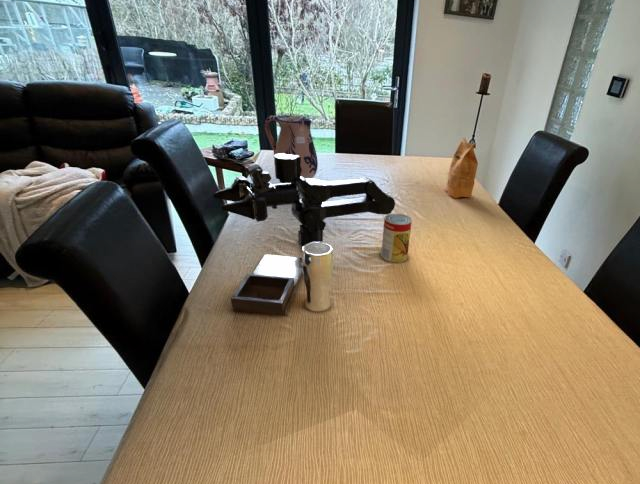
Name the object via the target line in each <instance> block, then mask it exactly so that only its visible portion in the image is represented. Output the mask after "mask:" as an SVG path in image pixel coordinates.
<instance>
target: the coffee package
mask: <svg viewBox="0 0 640 484" xmlns="http://www.w3.org/2000/svg"><path fill="white" fill-rule="evenodd" d="M476 148H477V145H475V143H470V142H467V140H466V138H463V137H462V139H461V141H460V143H459V144H458V146H457V147H456V150H455V152H454V154H453V156H452V159H451V163H450V166H449V168H448V169H449V170H448V172H447V181H446V187H445V192H447V194H448V196H450V197H452V198H453V199H458V198H469V197H472V195H473V190H474V186H475V183H476V181H475V180H476V177H477V169H478V165H479V163H478V159H477V155H476V153H475V150H474V149H476Z"/></svg>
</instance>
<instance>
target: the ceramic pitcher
mask: <svg viewBox="0 0 640 484" xmlns="http://www.w3.org/2000/svg"><path fill="white" fill-rule="evenodd" d="M271 121H275V122H276V123H278V126H279V128H280V129H279V130H280V131H279V134H278V137H277V141H276V142H275V139H274V137H273V134H272V132H271V128H270V123H271ZM311 125H312V120H311V119H310V118H306V117H305V116H304V115H292V114H289V115H287V114H286V115H269V116H267V118H265V121H264V130H265V135H266V137H267V139H268V141H269V144H270V146H271V148H272V150H273V156H274V155H276V154H280V153H284V154H290V155H298V156H299V157H301V164H300V173H301V176H302V177H303V178H304V179H306V178H309V179H314V178H315V176H316V174H317V172H318V166H319V165H318V164H319V161H318V156H317V151H316V147H315V143H314V139H313V137H312V132H311V131H312V130H311ZM273 164H274V165H273V166H275V162H274V161H273Z"/></svg>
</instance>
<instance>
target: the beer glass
mask: <svg viewBox="0 0 640 484" xmlns="http://www.w3.org/2000/svg"><path fill="white" fill-rule="evenodd" d="M301 250H302V252H301V253H302V254H301V258H302V272H303V275H302V278H303V281H304V286H305V290H306V291H305V292H306V296H305V302H304V306H305V307H306V309H307V310H309V311H310V312H311V311H312V312H323V311H326V310H328V309H329V308H330V307H331V297H330V287H331V282H332V277H333V272H334V256H333V247H332V246H331V245H330V244H329V243H325V242H323V243H322V242H312V243H308V244H306V245H304V246H303V247H302V249H301Z"/></svg>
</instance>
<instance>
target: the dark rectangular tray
mask: <svg viewBox="0 0 640 484" xmlns="http://www.w3.org/2000/svg"><path fill="white" fill-rule="evenodd" d="M302 278H303V272H302V257H299V256H288V255H287V256H286V255H277V254H264V255H263V256H262V258H261V260H260V261H259V263H258V264H257V266H256V267H255V269H254V271H253V272H252V273H247V274H246V275H245V276H244V278H243V279H242V281H241V282H240V284H239V285H238V287H237V289H236V290H235V292H233V294H232V295H231V298H230V304H231V308H232V311H233V312H240V313H241V312H243V313H251V314H252V313H255V314H264V315H277V316H286V315H287V313H288V310H289V309H290V306H291V304H292V301H293V298H294V296H295V294H296V291H297V290H298V287H299V284H300V282H301V279H302Z"/></svg>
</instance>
